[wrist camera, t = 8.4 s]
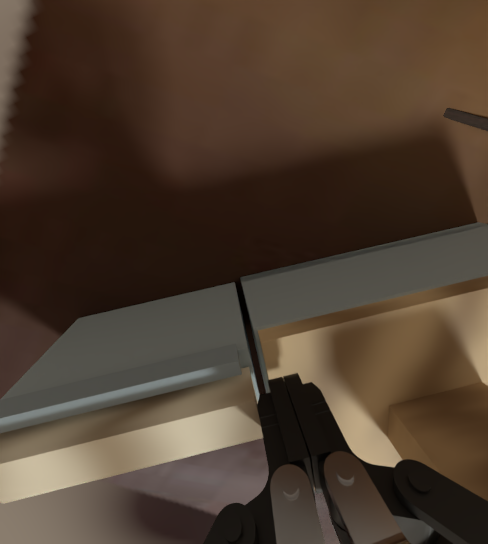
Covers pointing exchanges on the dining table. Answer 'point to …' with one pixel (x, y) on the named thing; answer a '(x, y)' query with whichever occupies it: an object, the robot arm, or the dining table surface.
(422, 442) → the lid
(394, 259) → the toolbox
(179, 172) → the dining table surface
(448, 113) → the sushi plate
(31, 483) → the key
